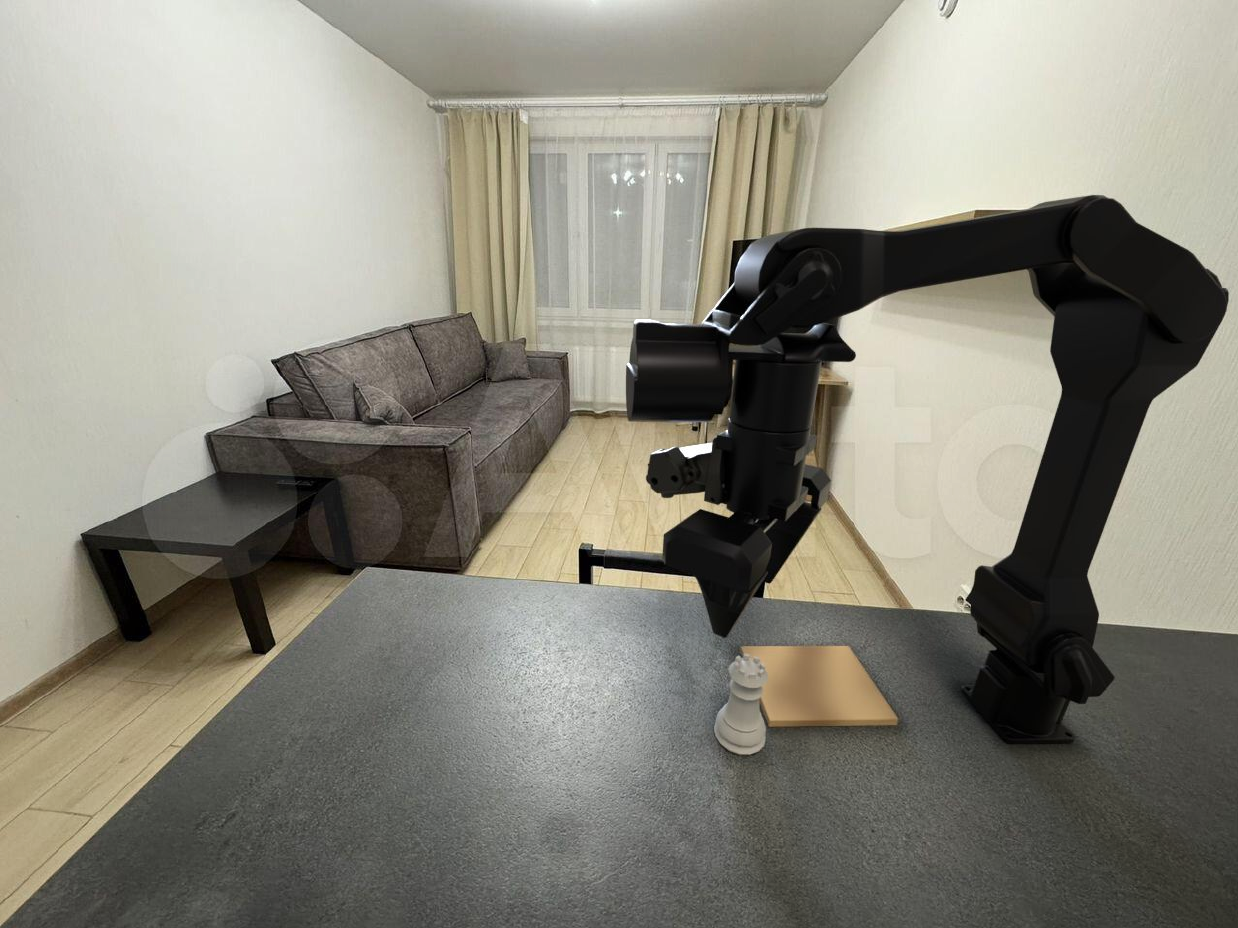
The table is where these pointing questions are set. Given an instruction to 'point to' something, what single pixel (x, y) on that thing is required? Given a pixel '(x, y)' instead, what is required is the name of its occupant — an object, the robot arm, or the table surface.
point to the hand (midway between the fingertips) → (744, 605)
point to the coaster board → (818, 688)
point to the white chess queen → (743, 708)
